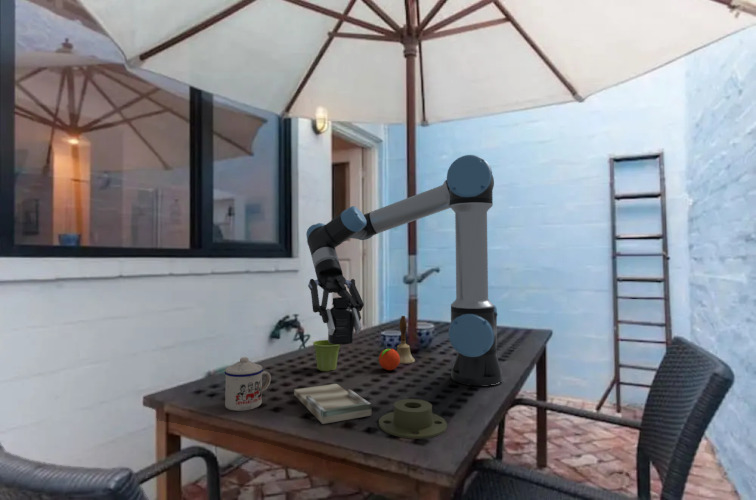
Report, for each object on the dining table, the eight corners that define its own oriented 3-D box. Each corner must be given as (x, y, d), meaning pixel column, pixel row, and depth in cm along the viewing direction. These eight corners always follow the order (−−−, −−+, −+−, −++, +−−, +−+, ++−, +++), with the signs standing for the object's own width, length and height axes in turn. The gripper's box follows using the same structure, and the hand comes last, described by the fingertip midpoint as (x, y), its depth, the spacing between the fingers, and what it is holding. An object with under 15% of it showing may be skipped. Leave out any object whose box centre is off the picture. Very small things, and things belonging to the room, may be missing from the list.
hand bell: (388, 362, 152) (388, 316, 152) (396, 357, 159) (396, 314, 160) (410, 364, 149) (411, 318, 149) (418, 359, 156) (418, 315, 156)
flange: (379, 417, 88) (452, 418, 89) (378, 394, 103) (441, 394, 104) (379, 440, 88) (452, 441, 88) (378, 413, 103) (441, 414, 103)
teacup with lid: (235, 414, 101) (236, 364, 101) (217, 404, 107) (218, 357, 107) (279, 402, 109) (280, 356, 109) (260, 394, 115) (261, 350, 116)
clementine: (389, 374, 136) (390, 352, 136) (372, 370, 140) (372, 348, 140) (404, 369, 142) (404, 347, 142) (386, 366, 146) (387, 345, 147)
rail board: (294, 394, 115) (294, 384, 115) (336, 389, 121) (336, 379, 121) (322, 423, 95) (322, 411, 96) (371, 415, 101) (371, 403, 101)
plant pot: (343, 366, 146) (343, 340, 146) (338, 373, 137) (338, 346, 137) (316, 365, 147) (316, 339, 147) (309, 372, 137) (309, 345, 138)
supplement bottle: (357, 342, 118) (359, 297, 118) (345, 346, 112) (346, 300, 112) (336, 339, 121) (337, 296, 121) (322, 343, 115) (324, 298, 115)
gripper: (354, 274, 134) (375, 337, 120) (291, 274, 126) (305, 341, 111) (361, 258, 129) (384, 321, 115) (297, 256, 121) (312, 324, 106)
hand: (345, 331), depth 113 cm, fingers closed on supplement bottle, 7 cm apart
